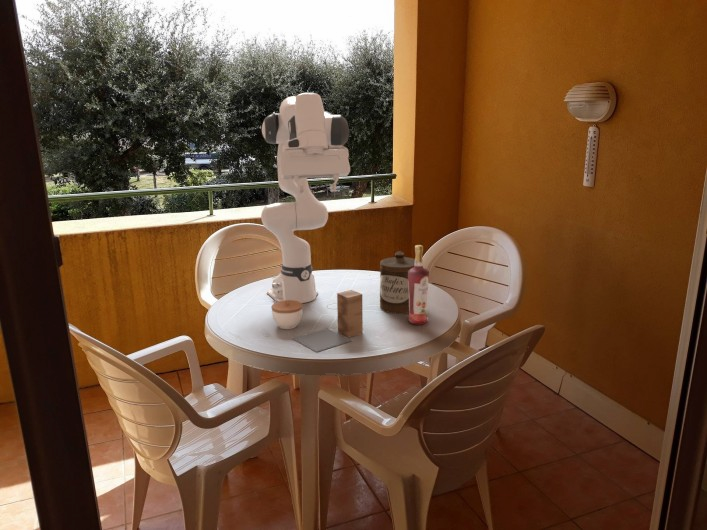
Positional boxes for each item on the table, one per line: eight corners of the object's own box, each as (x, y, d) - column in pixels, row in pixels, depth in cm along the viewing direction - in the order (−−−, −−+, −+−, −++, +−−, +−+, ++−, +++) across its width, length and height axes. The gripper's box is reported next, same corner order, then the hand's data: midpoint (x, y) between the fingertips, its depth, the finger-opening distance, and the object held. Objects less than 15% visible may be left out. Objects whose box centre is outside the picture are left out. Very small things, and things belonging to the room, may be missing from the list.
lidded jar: (288, 318, 204) (287, 293, 201) (309, 324, 197) (308, 299, 194) (266, 326, 196) (264, 301, 193) (287, 334, 189) (286, 308, 186)
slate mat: (292, 338, 185) (292, 338, 185) (326, 328, 193) (326, 327, 193) (316, 352, 174) (316, 351, 174) (351, 341, 183) (351, 340, 183)
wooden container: (373, 310, 210) (373, 254, 204) (388, 299, 223) (388, 245, 217) (411, 316, 204) (412, 258, 198) (423, 303, 217) (425, 249, 211)
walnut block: (337, 332, 190) (337, 293, 186) (352, 327, 194) (351, 289, 190) (348, 337, 185) (348, 297, 182) (363, 333, 189) (362, 293, 185)
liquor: (416, 328, 193) (418, 249, 185) (402, 322, 198) (403, 245, 191) (432, 323, 197) (434, 246, 189) (418, 317, 203) (419, 242, 195)
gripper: (345, 149, 167) (350, 193, 165) (277, 150, 163) (281, 196, 161) (349, 140, 161) (354, 186, 159) (278, 142, 157) (282, 189, 155)
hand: (317, 191), depth 160 cm, fingers open, 8 cm apart
